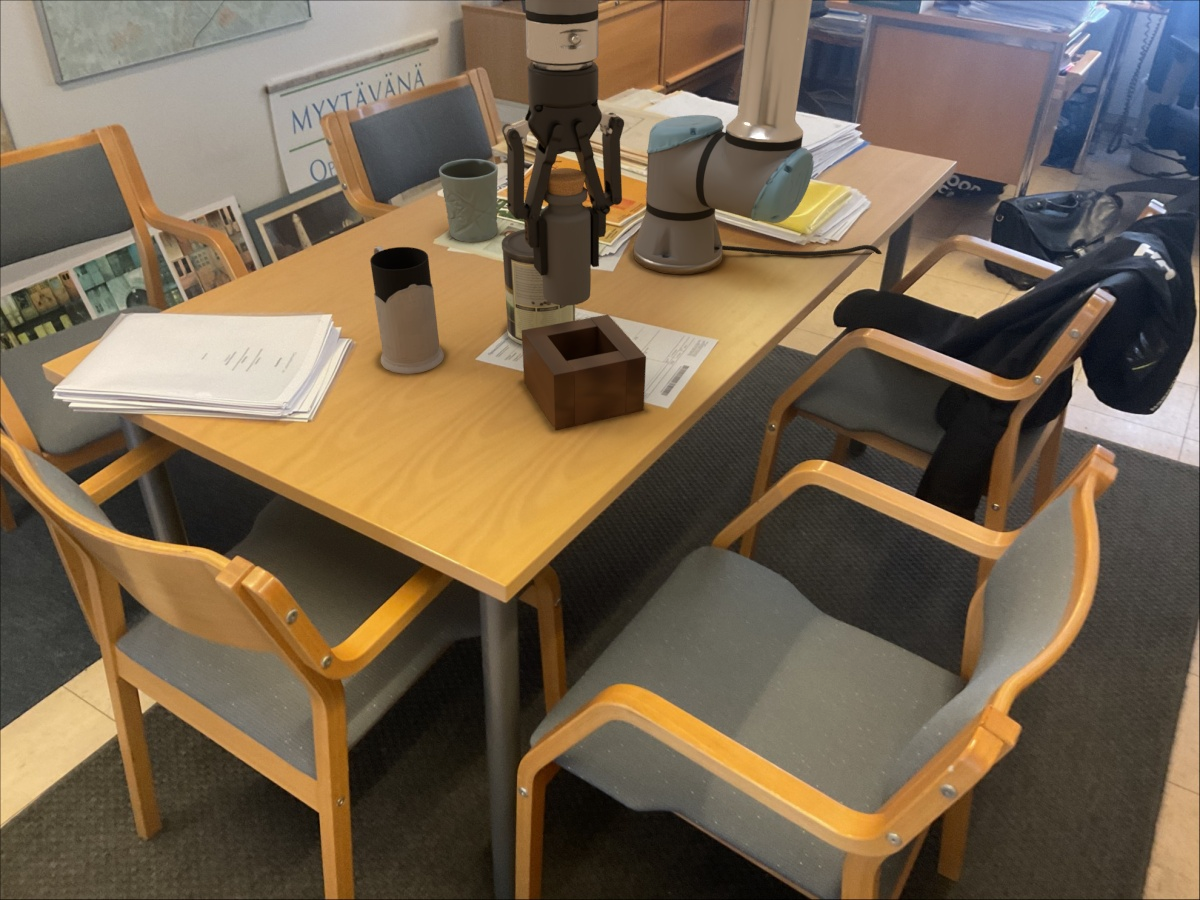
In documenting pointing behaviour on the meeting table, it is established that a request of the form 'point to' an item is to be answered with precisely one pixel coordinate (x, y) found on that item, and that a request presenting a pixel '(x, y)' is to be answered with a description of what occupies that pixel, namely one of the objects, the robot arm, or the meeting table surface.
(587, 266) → the bottle
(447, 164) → the grey cup
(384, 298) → the glass holder
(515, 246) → the coffee can
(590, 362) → the bottle stand
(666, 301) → the meeting table surface
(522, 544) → the meeting table surface
